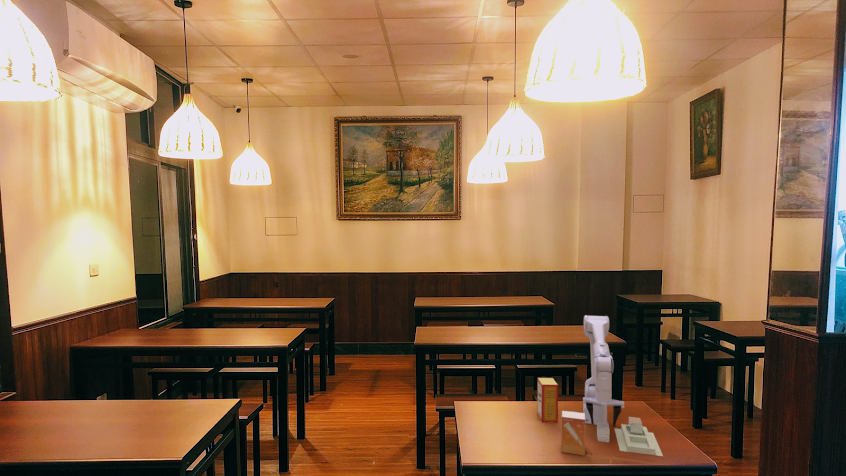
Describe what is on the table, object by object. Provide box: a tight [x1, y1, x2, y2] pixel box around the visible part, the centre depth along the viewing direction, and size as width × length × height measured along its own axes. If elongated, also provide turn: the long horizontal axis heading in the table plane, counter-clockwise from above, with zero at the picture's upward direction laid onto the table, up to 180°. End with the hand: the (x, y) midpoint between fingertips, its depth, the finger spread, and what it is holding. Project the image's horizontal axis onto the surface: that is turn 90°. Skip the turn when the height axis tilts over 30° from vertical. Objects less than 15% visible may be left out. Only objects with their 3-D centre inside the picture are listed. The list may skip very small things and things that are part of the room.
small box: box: [560, 410, 586, 457], centre depth 170 cm, size 8×6×13 cm
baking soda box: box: [536, 377, 559, 424], centre depth 199 cm, size 10×6×16 cm
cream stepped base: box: [614, 423, 664, 457], centre depth 175 cm, size 14×20×3 cm
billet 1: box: [596, 421, 610, 443], centre depth 178 cm, size 4×6×6 cm, turn 163°
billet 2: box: [628, 416, 643, 435], centre depth 180 cm, size 4×6×6 cm, turn 163°
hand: (603, 424), depth 178 cm, fingers open, 7 cm apart
